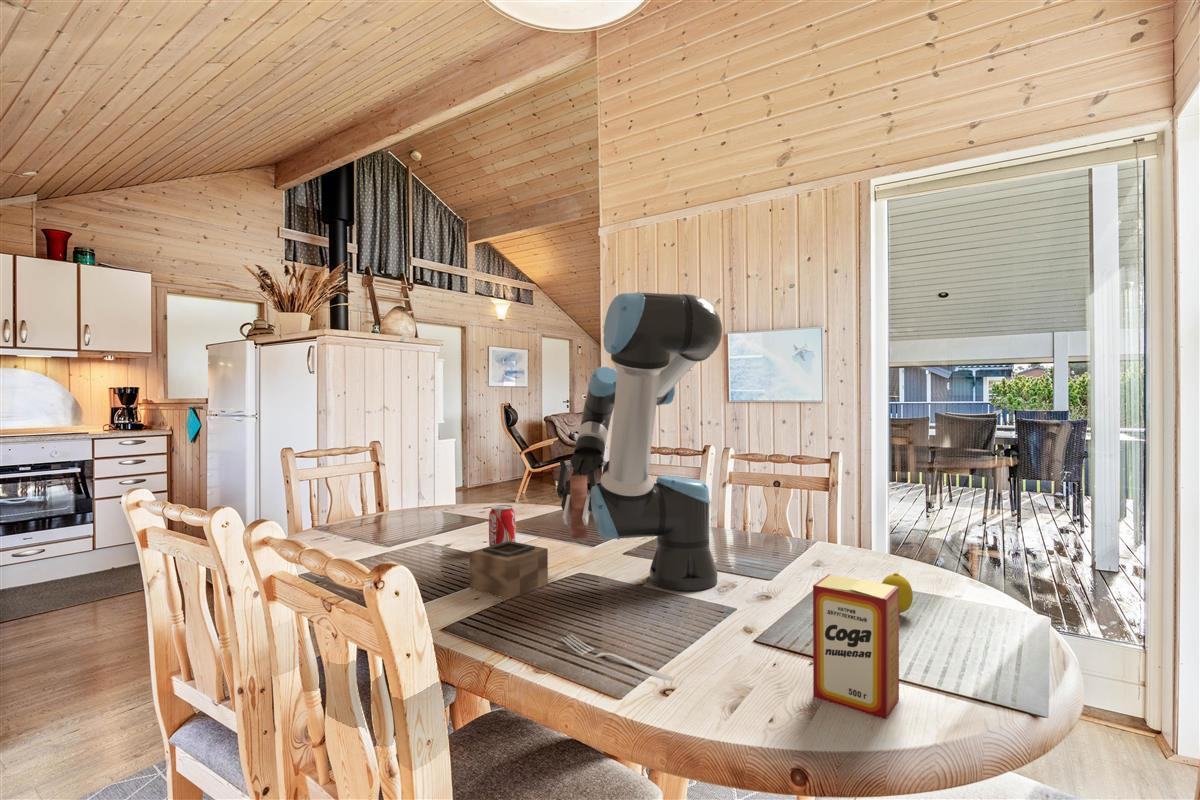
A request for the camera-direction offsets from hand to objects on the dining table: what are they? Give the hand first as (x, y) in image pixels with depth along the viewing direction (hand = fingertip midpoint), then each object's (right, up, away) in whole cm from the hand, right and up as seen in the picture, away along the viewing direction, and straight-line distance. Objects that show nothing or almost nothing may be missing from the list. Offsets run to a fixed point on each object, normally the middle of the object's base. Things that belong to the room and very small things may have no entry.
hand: (574, 521), depth 138 cm
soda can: (-21, -13, +25) cm, 35 cm away
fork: (+9, -14, -43) cm, 46 cm away
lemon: (+62, -13, -23) cm, 67 cm away
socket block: (-14, -13, -5) cm, 20 cm away
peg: (+1, -4, +4) cm, 6 cm away
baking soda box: (+41, -14, -54) cm, 70 cm away
